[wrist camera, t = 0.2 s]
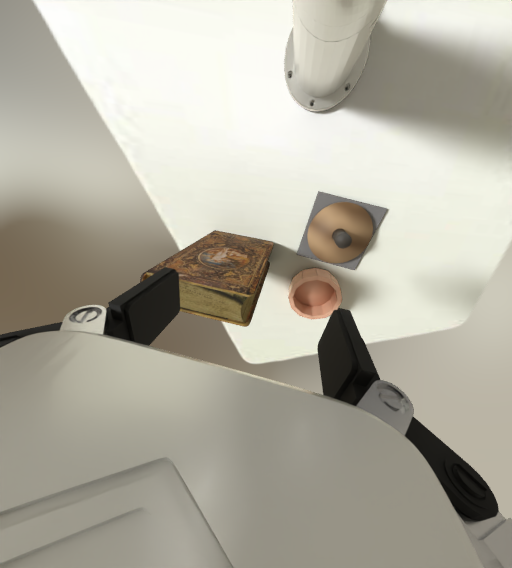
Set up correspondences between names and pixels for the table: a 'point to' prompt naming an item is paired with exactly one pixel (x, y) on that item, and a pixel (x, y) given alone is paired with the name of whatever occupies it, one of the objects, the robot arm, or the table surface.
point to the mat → (328, 199)
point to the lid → (340, 232)
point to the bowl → (314, 293)
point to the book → (220, 276)
